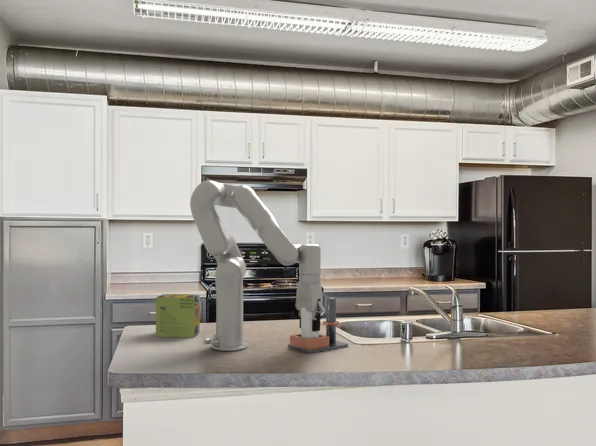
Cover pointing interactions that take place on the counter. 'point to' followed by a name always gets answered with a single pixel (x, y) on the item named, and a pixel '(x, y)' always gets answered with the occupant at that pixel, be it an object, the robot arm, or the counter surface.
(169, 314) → the protein box
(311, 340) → the grey and orange stand
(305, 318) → the can
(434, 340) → the counter surface
